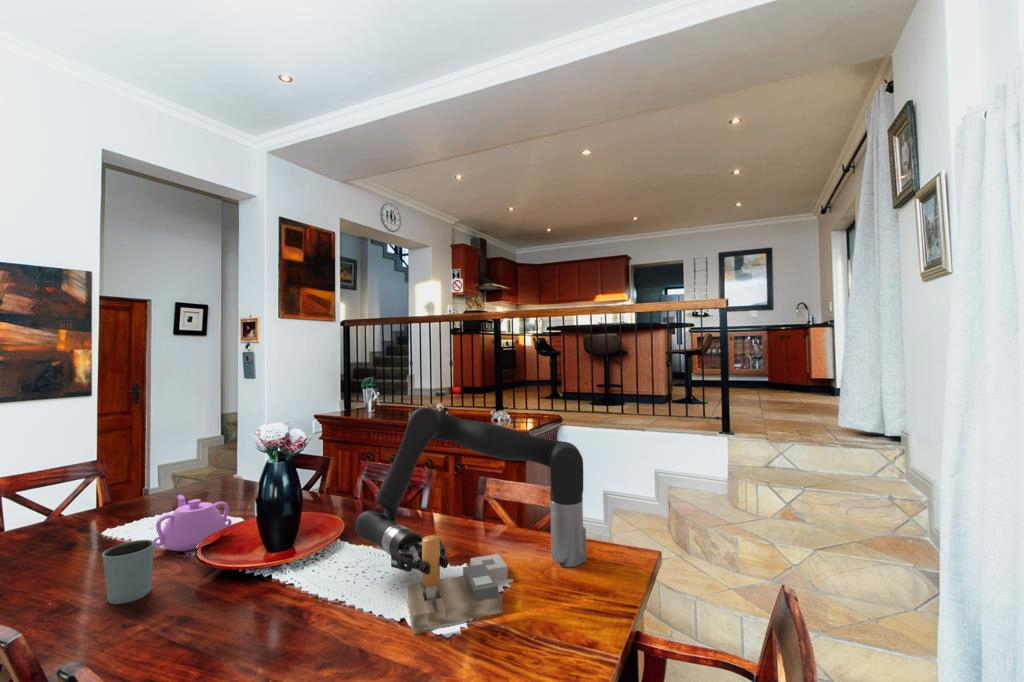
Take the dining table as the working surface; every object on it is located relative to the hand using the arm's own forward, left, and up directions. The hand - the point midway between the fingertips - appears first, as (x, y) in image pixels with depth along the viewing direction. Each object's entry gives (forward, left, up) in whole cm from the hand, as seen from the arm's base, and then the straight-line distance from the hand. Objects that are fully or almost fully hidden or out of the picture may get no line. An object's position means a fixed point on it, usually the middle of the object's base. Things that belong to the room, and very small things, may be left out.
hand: (437, 566), depth 106 cm
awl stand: (-16, -15, -11) cm, 24 cm away
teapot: (+68, -71, -12) cm, 99 cm away
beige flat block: (-4, -3, -11) cm, 12 cm away
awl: (+1, -3, -9) cm, 10 cm away
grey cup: (+72, -37, -12) cm, 82 cm away
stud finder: (-10, -3, -7) cm, 13 cm away
